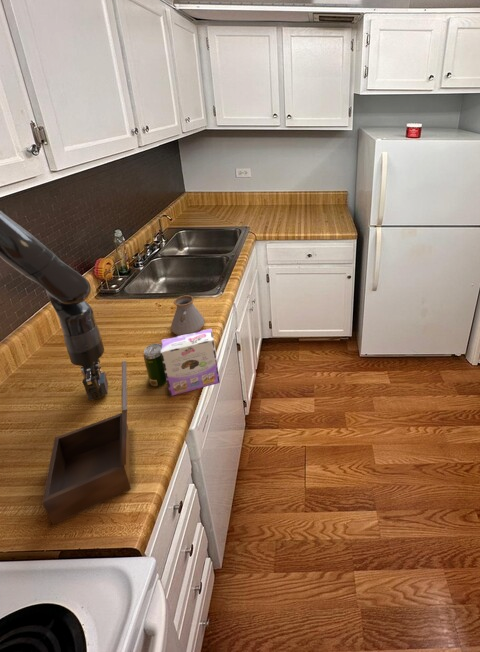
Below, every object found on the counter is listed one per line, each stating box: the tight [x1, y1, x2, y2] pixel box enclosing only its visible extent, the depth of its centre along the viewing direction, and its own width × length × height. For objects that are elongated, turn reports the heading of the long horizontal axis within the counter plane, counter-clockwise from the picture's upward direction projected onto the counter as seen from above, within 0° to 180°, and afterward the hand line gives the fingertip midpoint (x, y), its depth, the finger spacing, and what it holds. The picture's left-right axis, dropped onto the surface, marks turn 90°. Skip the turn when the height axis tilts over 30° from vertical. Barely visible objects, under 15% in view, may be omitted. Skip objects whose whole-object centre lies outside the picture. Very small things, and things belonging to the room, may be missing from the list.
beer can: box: [143, 343, 167, 388], centre depth 96 cm, size 5×5×12 cm
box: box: [41, 412, 132, 526], centre depth 73 cm, size 14×15×8 cm
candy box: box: [160, 328, 221, 397], centre depth 95 cm, size 14×6×16 cm, turn 111°
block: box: [84, 371, 109, 401], centre depth 92 cm, size 4×4×4 cm
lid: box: [121, 360, 128, 466], centre depth 72 cm, size 14×15×1 cm
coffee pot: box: [170, 294, 205, 336], centre depth 113 cm, size 21×12×15 cm, turn 19°
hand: (98, 391), depth 92 cm, fingers closed on block, 4 cm apart
